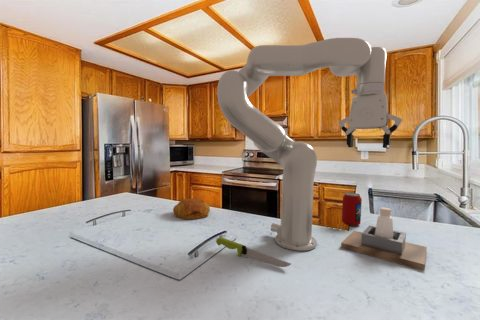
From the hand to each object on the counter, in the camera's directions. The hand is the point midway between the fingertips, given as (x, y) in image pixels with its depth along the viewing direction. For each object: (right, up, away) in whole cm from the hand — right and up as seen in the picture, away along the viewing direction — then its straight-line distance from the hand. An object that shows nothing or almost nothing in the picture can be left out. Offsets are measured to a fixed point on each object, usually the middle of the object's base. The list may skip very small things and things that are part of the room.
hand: (367, 147), depth 74 cm
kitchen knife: (-36, -30, -10) cm, 49 cm away
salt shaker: (+3, -29, -3) cm, 30 cm away
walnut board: (+3, -31, -3) cm, 31 cm away
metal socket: (+3, -29, -3) cm, 29 cm away
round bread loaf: (-60, -28, +28) cm, 72 cm away
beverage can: (+5, -29, +21) cm, 36 cm away
